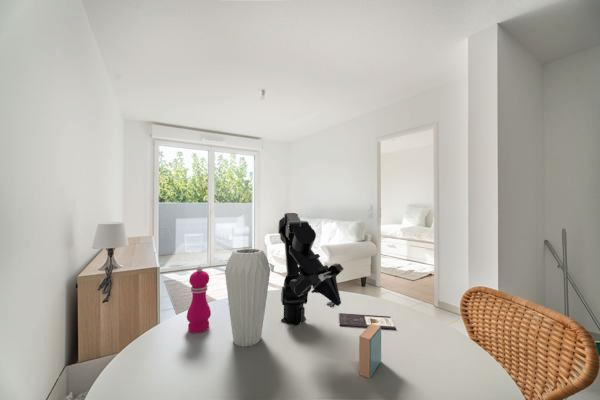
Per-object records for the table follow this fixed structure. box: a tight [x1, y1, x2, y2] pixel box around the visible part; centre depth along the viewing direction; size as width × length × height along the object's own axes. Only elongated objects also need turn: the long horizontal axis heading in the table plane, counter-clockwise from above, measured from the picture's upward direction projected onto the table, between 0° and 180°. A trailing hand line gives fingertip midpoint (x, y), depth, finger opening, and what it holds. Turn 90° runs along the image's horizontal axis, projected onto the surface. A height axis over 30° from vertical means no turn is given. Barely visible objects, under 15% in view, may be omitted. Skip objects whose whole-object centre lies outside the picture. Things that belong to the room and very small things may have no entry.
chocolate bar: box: [338, 312, 397, 331], centre depth 88 cm, size 9×1×18 cm
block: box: [358, 324, 382, 379], centre depth 64 cm, size 3×8×9 cm, turn 144°
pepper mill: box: [186, 266, 212, 334], centre depth 83 cm, size 7×7×20 cm
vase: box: [224, 248, 271, 348], centre depth 77 cm, size 13×13×26 cm
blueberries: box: [326, 300, 336, 308], centre depth 103 cm, size 7×8×2 cm
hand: (339, 304), depth 69 cm, fingers closed
